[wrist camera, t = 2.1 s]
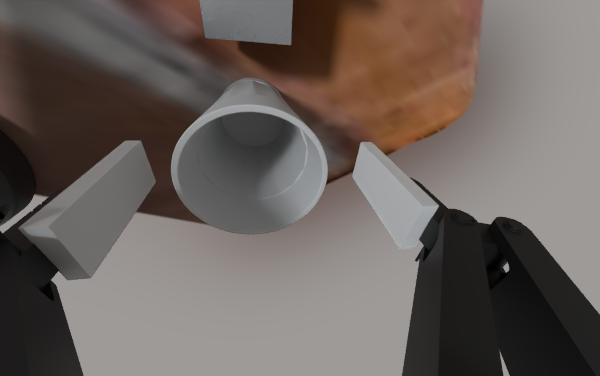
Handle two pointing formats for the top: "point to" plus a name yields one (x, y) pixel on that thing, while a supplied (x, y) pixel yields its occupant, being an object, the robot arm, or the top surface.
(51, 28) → the top surface
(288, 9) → the grey rectangular slab
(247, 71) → the top surface
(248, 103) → the cup
